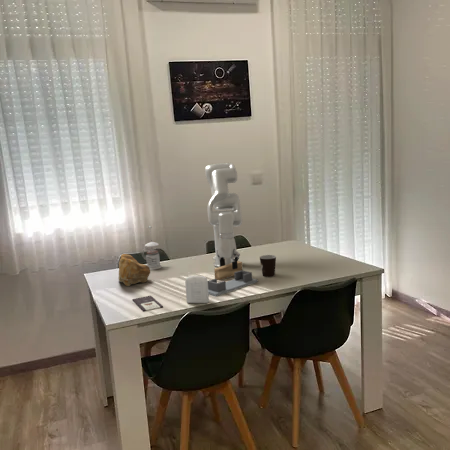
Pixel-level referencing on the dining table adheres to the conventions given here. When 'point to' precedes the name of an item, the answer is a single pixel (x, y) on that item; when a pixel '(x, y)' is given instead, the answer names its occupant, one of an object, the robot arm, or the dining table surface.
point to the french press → (156, 257)
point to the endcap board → (230, 283)
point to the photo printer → (197, 289)
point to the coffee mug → (268, 265)
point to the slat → (226, 271)
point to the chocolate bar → (147, 303)
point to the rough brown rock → (132, 270)
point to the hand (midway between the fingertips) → (228, 267)
